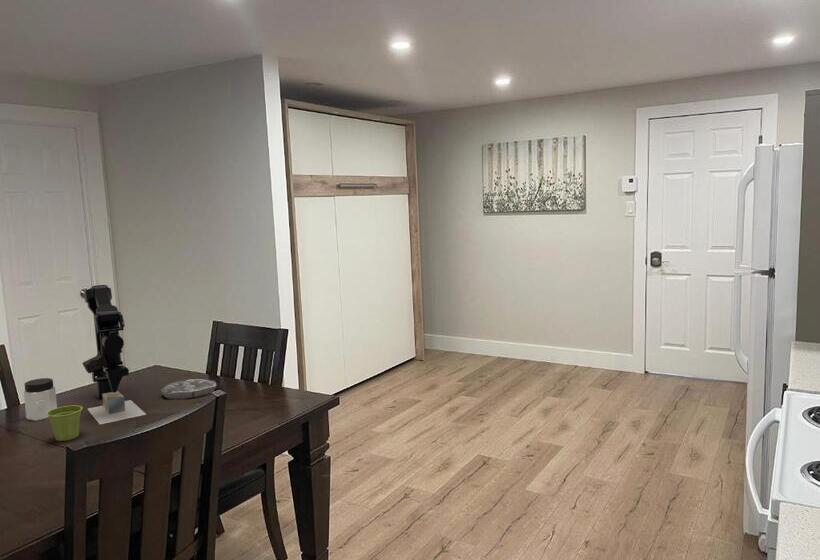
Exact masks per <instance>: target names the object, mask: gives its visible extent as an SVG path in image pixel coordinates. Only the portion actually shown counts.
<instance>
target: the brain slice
mask: <svg viewBox="0 0 820 560" xmlns="http://www.w3.org/2000/svg"><path fill="white" fill-rule="evenodd" d="M216 388H217V383H216V381H215V380H208V379H204V378H203V379H201V378H200V379H199V378H192V379H189V378H188V379H186V380H181V381H180V380H179V381H178V380H177V381H173V382H171V383H168V384H166V385H164V387H163V388H161V389H160V393H161V395H162V396H163V397H165V398H166V399H168V400H174V399H176V400H186V399H192V398H198V397H203V396H206V395H210V394H211V393H210V392H211V391H213V392H214V391H215V390H216ZM209 393H210V394H209Z"/></svg>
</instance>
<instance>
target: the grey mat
mask: <svg viewBox="0 0 820 560" xmlns="http://www.w3.org/2000/svg"><path fill="white" fill-rule="evenodd" d="M124 402H125V411H123V412H118V413H113V414H108V412H107V411H106V410H105V409H104V408H103V405H100V406H99V405H98V406H93V407H89V408H87V410H88V412H89V413H90V414H91V415H92V417H93V418H94V419H95V420H96V421H97V423H98V425H104V424H109V423H114V422H119V421H123V420H127V419H133V418H137V417H141V416H146V415H147V413H145V411H144V410H142V409H141V408H140V407H139V406H138V405H137V404H136V403H135V402H133V401H132V400H131V399H129V400H124Z"/></svg>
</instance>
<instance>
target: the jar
mask: <svg viewBox="0 0 820 560" xmlns="http://www.w3.org/2000/svg"><path fill="white" fill-rule="evenodd" d="M23 396H24V397H23V399H24V400H23V401H24V406H25V407H24V408H25V418H26V420H29V421H35V422H36V421H43V420H45V419H47V418H48V419H49V417H48V416H47V414H46V413H47V412H48V411H50V410H52V409H55V408H58V403H57V393H56V386H54V380H53V378H49V377H45V378H44V377H43V378H35V379H31V380H28V381H26V382H25V383H24V391H23Z"/></svg>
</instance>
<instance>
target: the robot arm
mask: <svg viewBox="0 0 820 560" xmlns="http://www.w3.org/2000/svg"><path fill="white" fill-rule="evenodd" d="M112 299H113V295H112V288H111V287H109V285H106V284H99V285H97V284H96V285H93V286H91V287H90V288H88V289H86V290H85V291H84V301H85V303H87V304H86V305H87V308H88V309H89V310H90V311H91V313H92V315H93V322H94V332H95V334H94V335H95V342H96V356H93V357H91V358H89V359H87V360H85V361H83V362H82V365H83V367H84V369H85V372H87V374H91V379H92V381H93V383H97V393H95V396H96V397H97V398H98V399H99V400H101V399H102V400H103V397H102V394H104V393H110V392H113V393H114V392H117V391H118V389H119V387H120V384H121V381H122V379H123V377H124V376H125V377H126V376H129V375H130V371H129V370H130V369H129V368H128V367H126V366H125V365H124V362H123V360H122V356H121V354H122V353H123V350H122V349H123V347H124V345H125V342H124V339H123V338H122V337H121V335H120V331H124V329H125V321H124V316H123V314H122V313H121V311H119V309H118V307H117V306H116V305H113V304H112Z"/></svg>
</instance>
